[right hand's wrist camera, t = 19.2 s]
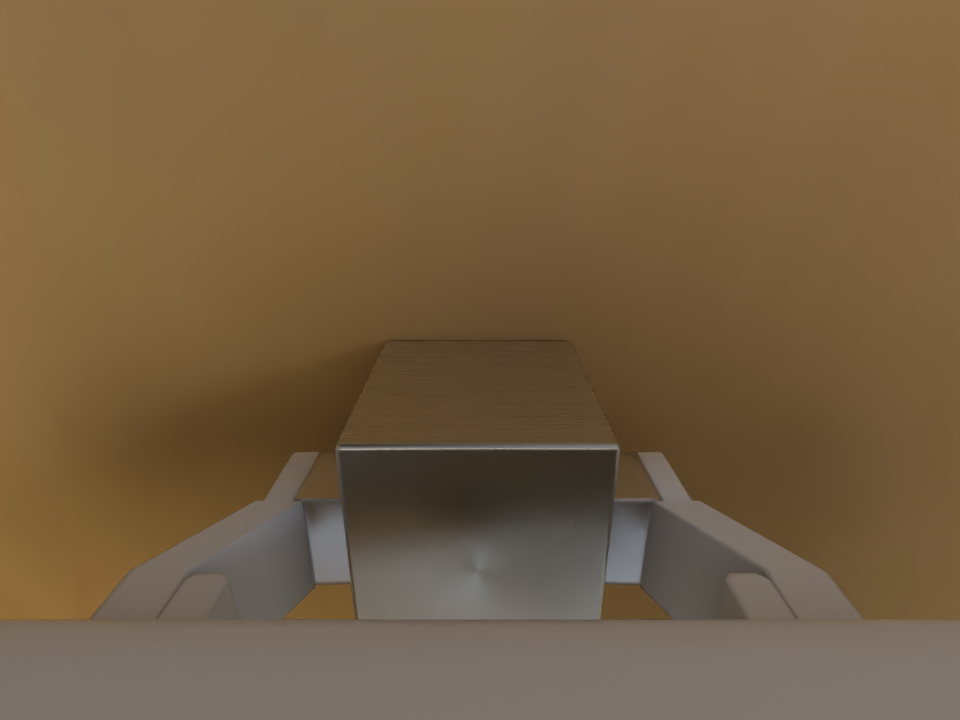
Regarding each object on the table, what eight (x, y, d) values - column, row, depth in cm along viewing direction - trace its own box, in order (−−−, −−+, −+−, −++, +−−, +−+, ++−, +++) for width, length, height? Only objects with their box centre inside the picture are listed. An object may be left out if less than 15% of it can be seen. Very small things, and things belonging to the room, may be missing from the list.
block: (397, 510, 13) (359, 673, 9) (384, 339, 12) (332, 445, 8) (560, 510, 13) (596, 673, 9) (572, 339, 12) (622, 445, 8)
